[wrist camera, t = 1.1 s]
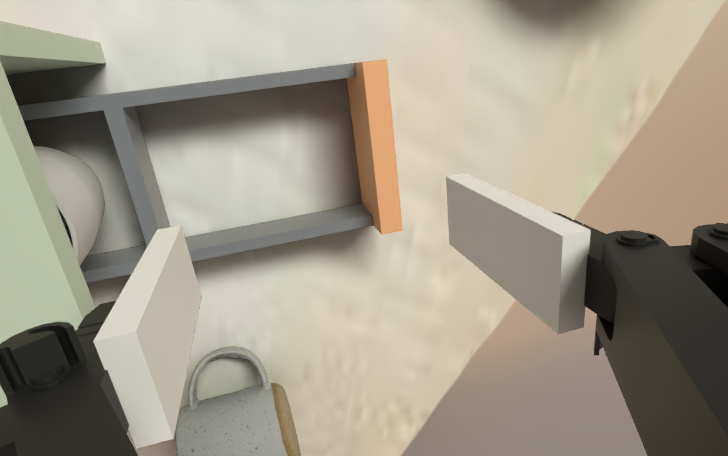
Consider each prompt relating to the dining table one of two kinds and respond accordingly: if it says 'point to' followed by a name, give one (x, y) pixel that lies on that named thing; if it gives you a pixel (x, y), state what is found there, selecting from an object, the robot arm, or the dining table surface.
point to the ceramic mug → (237, 418)
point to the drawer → (376, 209)
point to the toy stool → (34, 197)
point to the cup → (74, 196)
